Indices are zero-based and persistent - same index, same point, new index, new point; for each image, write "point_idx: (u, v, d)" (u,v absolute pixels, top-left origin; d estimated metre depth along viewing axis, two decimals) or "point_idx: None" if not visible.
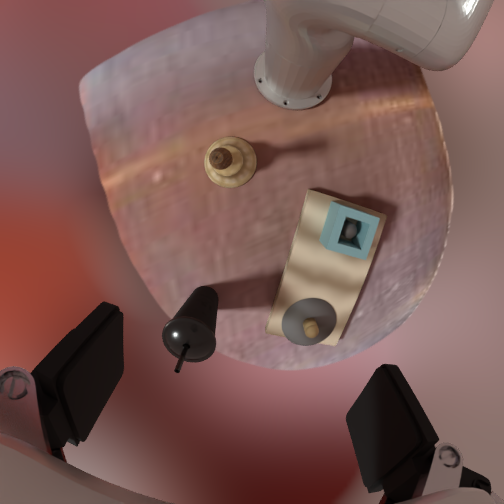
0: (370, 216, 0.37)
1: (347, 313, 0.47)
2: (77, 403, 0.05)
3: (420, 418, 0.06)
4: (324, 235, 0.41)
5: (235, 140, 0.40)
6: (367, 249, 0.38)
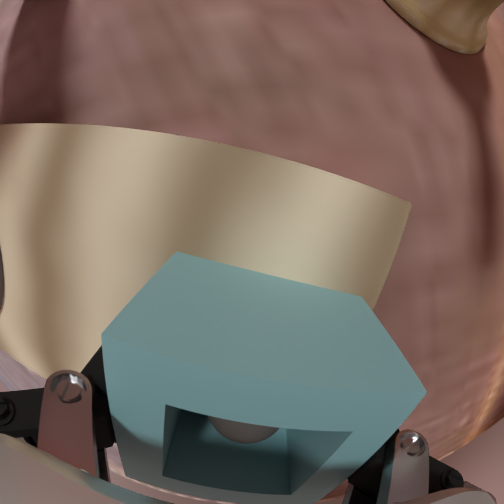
0: (326, 491, 0.06)
1: (6, 347, 0.11)
2: None
3: None
4: (201, 282, 0.07)
5: None
6: (172, 487, 0.06)
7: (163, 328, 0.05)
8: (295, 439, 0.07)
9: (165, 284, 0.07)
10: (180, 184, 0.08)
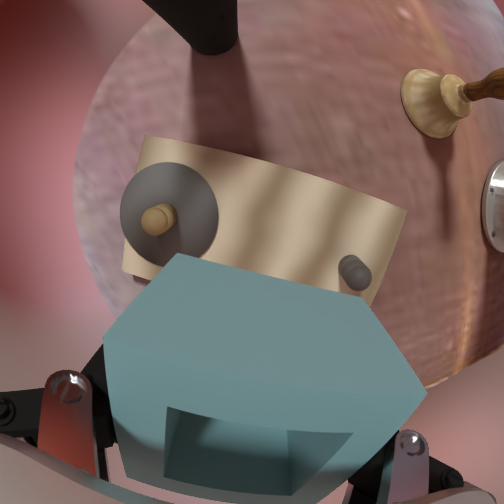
0: (326, 491, 0.06)
1: None
2: None
3: None
4: (202, 284, 0.07)
5: None
6: (173, 488, 0.06)
7: (165, 330, 0.05)
8: (296, 440, 0.07)
9: (166, 286, 0.07)
10: (334, 200, 0.23)
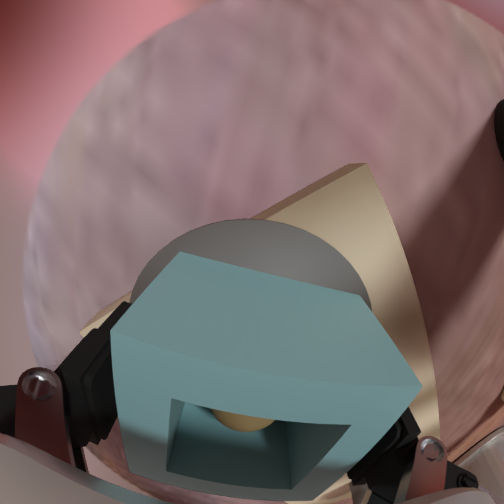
0: (325, 485, 0.06)
1: None
2: (101, 401, 0.05)
3: None
4: (204, 282, 0.07)
5: None
6: (175, 482, 0.06)
7: (169, 325, 0.05)
8: (295, 434, 0.08)
9: (170, 283, 0.07)
10: (421, 435, 0.13)
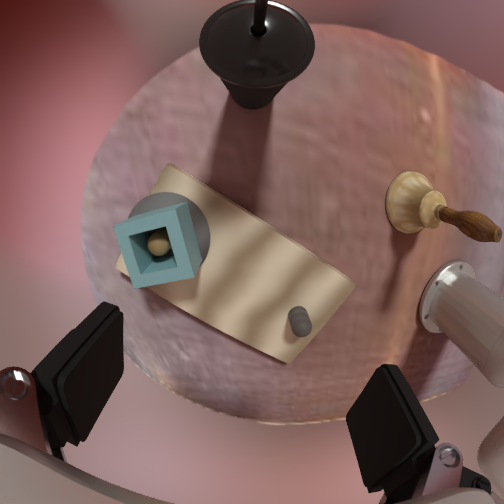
0: (187, 261, 0.25)
1: (167, 294, 0.32)
2: (77, 403, 0.05)
3: (420, 418, 0.06)
4: (136, 216, 0.27)
5: None
6: (146, 283, 0.25)
7: (124, 222, 0.24)
8: None
9: (127, 219, 0.26)
10: (301, 264, 0.31)
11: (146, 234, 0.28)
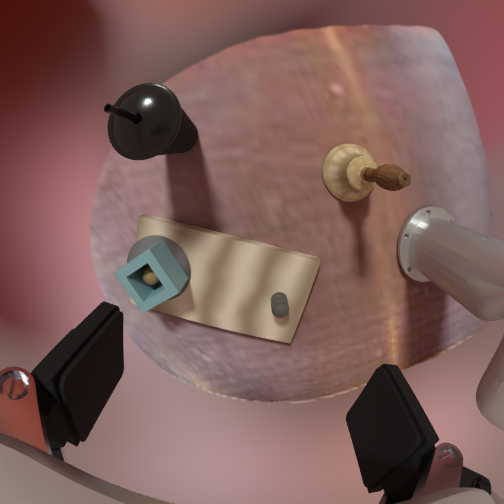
0: (170, 283, 0.33)
1: (173, 311, 0.40)
2: (77, 403, 0.05)
3: (420, 418, 0.06)
4: (130, 261, 0.36)
5: None
6: (149, 306, 0.34)
7: (121, 268, 0.33)
8: None
9: None
10: (264, 258, 0.37)
11: (142, 271, 0.37)
